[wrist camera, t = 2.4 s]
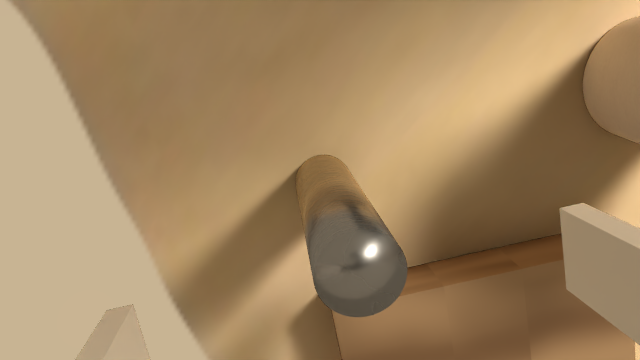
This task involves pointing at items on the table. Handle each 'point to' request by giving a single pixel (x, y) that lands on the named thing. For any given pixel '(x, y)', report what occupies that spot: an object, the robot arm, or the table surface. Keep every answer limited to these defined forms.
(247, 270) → the table surface
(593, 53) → the coffee cup
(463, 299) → the hole board
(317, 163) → the pin
